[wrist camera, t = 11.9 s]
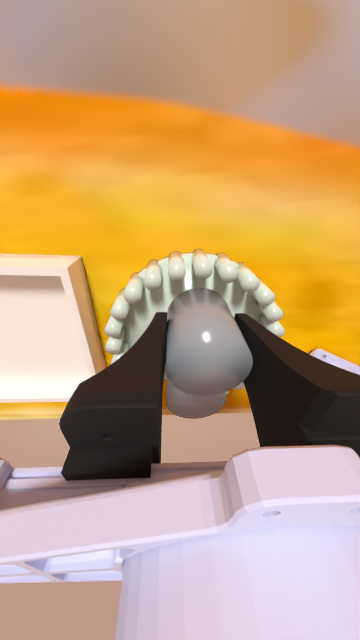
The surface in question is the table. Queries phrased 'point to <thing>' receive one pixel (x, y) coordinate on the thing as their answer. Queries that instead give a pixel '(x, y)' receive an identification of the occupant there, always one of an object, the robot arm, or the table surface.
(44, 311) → the parts tray
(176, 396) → the pebble charcoal
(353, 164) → the table surface
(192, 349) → the pebble slate
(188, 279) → the celadon bowl
